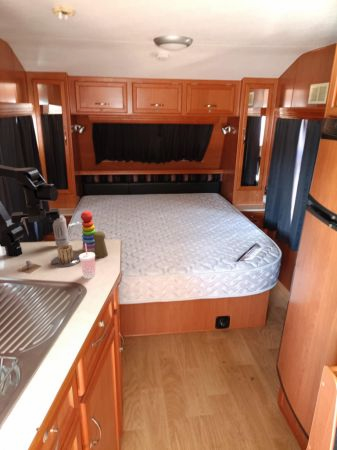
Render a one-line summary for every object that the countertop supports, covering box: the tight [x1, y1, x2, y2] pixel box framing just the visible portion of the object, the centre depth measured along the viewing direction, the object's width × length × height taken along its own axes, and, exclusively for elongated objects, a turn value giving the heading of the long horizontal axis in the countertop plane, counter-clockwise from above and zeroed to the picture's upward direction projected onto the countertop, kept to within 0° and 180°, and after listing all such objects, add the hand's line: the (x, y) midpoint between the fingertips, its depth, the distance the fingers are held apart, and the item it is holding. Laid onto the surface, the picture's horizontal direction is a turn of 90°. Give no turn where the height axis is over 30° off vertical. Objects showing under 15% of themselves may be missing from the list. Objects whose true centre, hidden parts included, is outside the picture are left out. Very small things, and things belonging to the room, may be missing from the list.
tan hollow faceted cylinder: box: [56, 244, 74, 264], centre depth 139 cm, size 6×6×6 cm
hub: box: [50, 253, 81, 269], centre depth 140 cm, size 13×13×6 cm
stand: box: [16, 260, 42, 275], centre depth 134 cm, size 7×7×4 cm
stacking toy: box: [80, 210, 97, 253], centre depth 149 cm, size 8×8×19 cm
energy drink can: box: [52, 214, 70, 248], centre depth 154 cm, size 6×6×15 cm
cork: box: [93, 231, 109, 259], centre depth 144 cm, size 6×6×11 cm
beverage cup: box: [78, 243, 96, 279], centre depth 127 cm, size 6×6×14 cm
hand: (39, 234), depth 140 cm, fingers open, 9 cm apart
